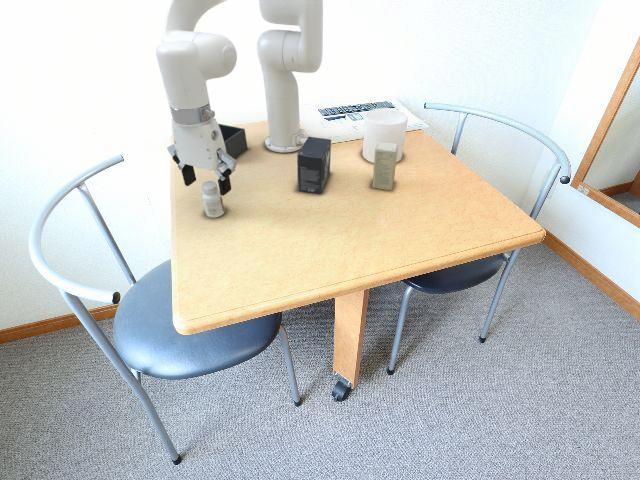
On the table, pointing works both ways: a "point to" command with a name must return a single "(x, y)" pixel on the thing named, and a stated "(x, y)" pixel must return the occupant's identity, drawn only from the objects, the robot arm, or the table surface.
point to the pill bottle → (212, 199)
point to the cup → (384, 130)
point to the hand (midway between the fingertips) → (208, 187)
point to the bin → (234, 140)
